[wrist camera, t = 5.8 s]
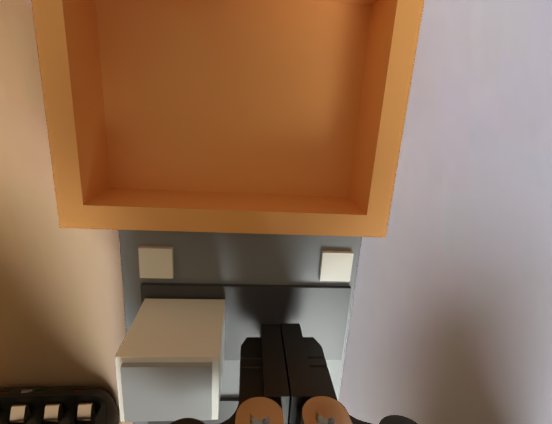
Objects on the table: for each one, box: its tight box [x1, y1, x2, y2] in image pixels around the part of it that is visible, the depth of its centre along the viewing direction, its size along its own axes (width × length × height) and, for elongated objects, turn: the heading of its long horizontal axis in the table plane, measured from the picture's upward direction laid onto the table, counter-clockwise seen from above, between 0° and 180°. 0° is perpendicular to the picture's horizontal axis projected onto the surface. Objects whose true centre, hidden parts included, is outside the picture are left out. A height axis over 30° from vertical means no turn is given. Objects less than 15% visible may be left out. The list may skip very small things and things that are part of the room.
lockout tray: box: [31, 0, 424, 237], centre depth 12 cm, size 9×11×3 cm
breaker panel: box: [119, 230, 362, 424], centre depth 16 cm, size 12×9×2 cm
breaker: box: [115, 299, 225, 422], centre depth 12 cm, size 2×3×3 cm
